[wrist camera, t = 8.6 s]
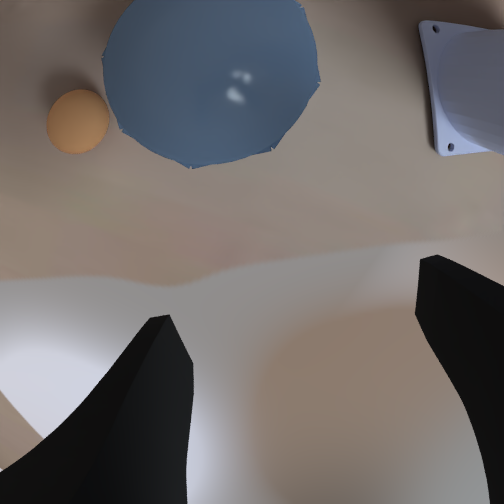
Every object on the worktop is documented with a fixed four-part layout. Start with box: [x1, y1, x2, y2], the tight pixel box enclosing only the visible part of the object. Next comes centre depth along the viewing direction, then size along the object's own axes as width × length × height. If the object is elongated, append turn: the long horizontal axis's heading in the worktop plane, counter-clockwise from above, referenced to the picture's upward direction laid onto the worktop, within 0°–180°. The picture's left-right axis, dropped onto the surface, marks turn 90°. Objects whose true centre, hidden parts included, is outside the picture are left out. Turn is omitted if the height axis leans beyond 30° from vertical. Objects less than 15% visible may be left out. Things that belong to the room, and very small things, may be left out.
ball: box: [47, 89, 109, 154], centre depth 13 cm, size 3×3×3 cm
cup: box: [101, 0, 321, 169], centre depth 10 cm, size 6×6×7 cm
